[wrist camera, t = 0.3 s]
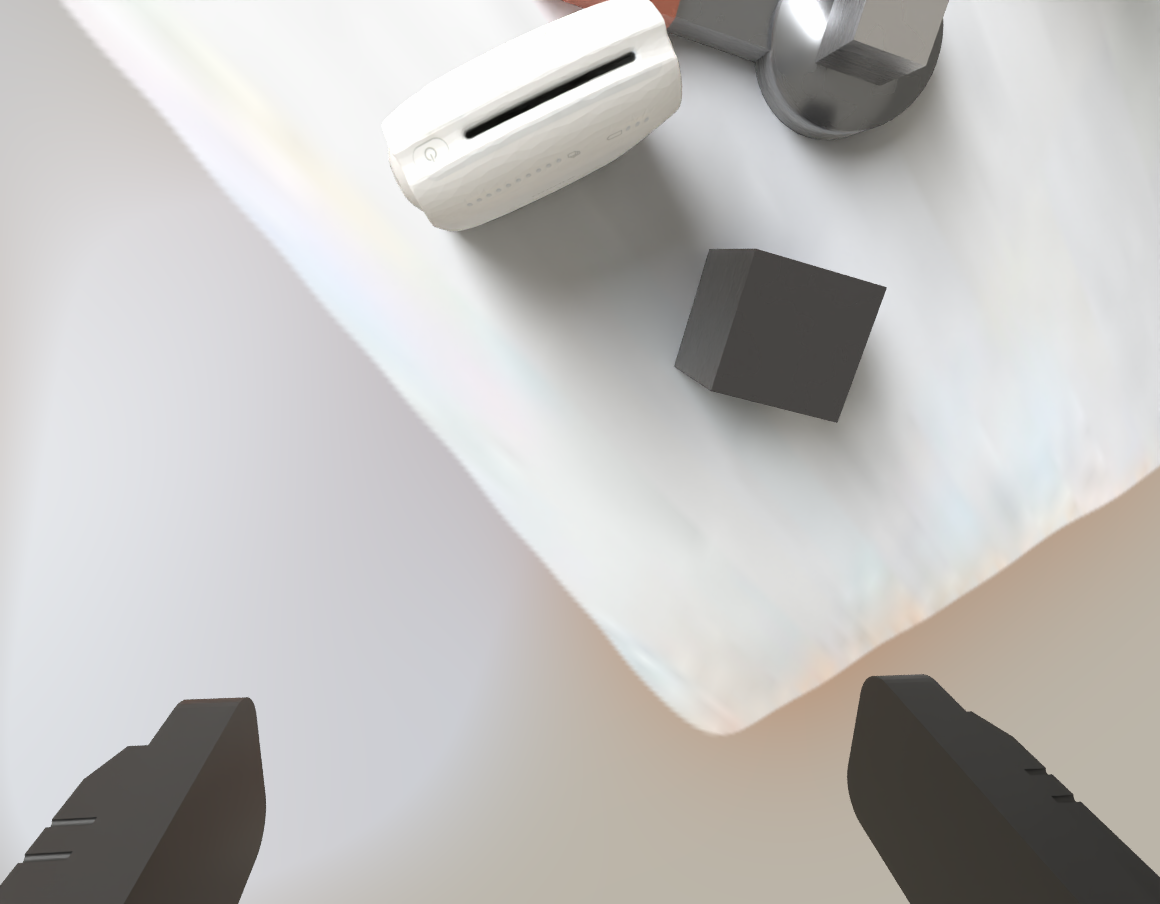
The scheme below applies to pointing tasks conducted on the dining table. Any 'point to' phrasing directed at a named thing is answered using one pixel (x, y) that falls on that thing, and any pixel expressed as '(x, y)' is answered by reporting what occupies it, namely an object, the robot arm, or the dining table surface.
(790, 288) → the dark grey metal cube
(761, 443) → the dining table surface
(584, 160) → the photo printer
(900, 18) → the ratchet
